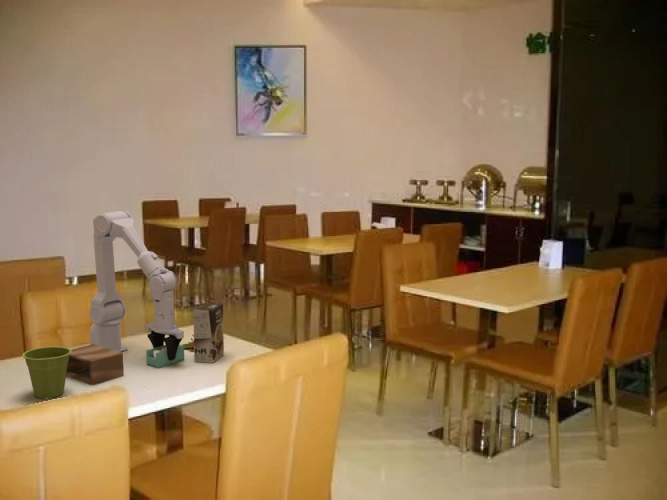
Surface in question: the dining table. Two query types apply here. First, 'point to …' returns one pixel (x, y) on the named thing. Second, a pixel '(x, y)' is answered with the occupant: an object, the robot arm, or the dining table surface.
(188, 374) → the dining table surface
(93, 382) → the wooden crate box
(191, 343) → the red green leafy plant
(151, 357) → the tray
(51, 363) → the plant pot
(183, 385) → the dining table surface
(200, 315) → the coffee box
